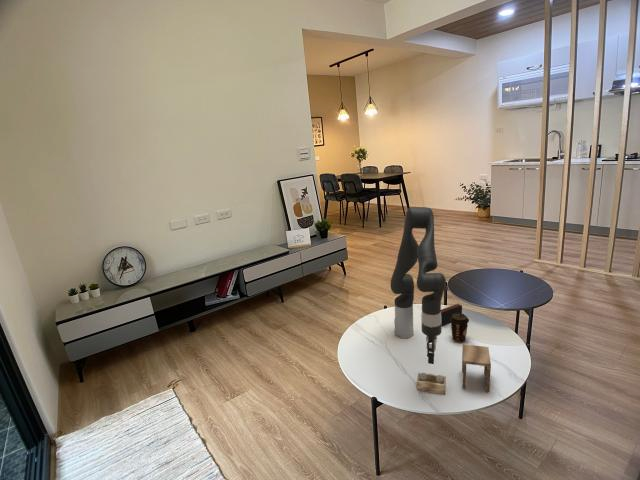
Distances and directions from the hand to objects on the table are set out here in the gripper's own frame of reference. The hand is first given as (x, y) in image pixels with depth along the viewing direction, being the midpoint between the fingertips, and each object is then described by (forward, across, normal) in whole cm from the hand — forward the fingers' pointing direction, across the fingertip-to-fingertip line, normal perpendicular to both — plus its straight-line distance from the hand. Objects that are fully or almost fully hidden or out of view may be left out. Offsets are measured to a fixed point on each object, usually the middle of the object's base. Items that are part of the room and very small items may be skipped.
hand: (431, 357), depth 143 cm
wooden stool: (+14, -8, +17) cm, 24 cm away
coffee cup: (+14, -39, +11) cm, 43 cm away
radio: (+14, -55, +5) cm, 57 cm away
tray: (+14, 0, 0) cm, 14 cm away
